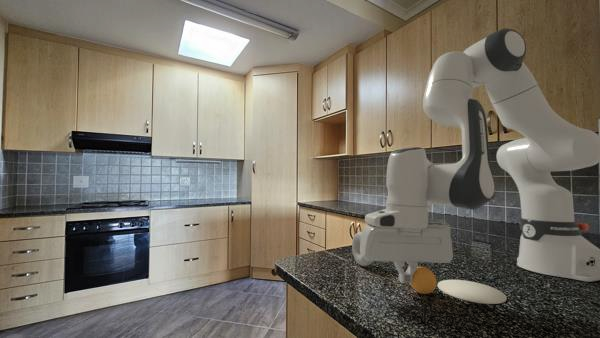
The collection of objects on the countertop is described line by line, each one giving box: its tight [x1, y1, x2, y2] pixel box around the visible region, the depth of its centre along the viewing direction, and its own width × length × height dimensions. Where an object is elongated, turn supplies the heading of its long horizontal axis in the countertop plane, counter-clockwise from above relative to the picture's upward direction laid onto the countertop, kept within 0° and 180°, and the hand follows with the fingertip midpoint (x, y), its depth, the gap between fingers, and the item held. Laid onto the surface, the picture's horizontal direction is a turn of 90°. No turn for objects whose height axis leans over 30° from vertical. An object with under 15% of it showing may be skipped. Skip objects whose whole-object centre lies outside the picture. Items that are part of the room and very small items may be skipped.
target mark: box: [437, 279, 508, 305], centre depth 59 cm, size 13×13×1 cm
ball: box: [409, 266, 438, 295], centre depth 57 cm, size 6×6×6 cm
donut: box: [351, 231, 373, 267], centre depth 77 cm, size 10×4×10 cm, turn 15°
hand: (405, 281), depth 57 cm, fingers closed
